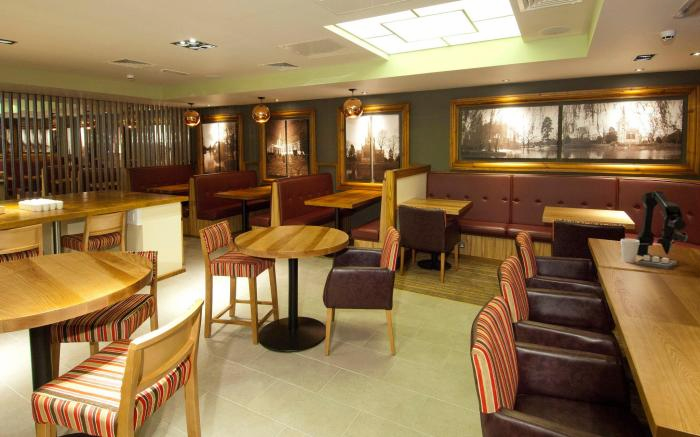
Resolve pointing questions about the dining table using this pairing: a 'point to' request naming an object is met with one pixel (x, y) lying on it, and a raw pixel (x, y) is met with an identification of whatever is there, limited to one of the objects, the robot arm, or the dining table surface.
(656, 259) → the breaker middle
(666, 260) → the breaker
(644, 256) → the breaker
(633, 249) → the foam cup
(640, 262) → the breaker panel
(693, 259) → the dining table surface
